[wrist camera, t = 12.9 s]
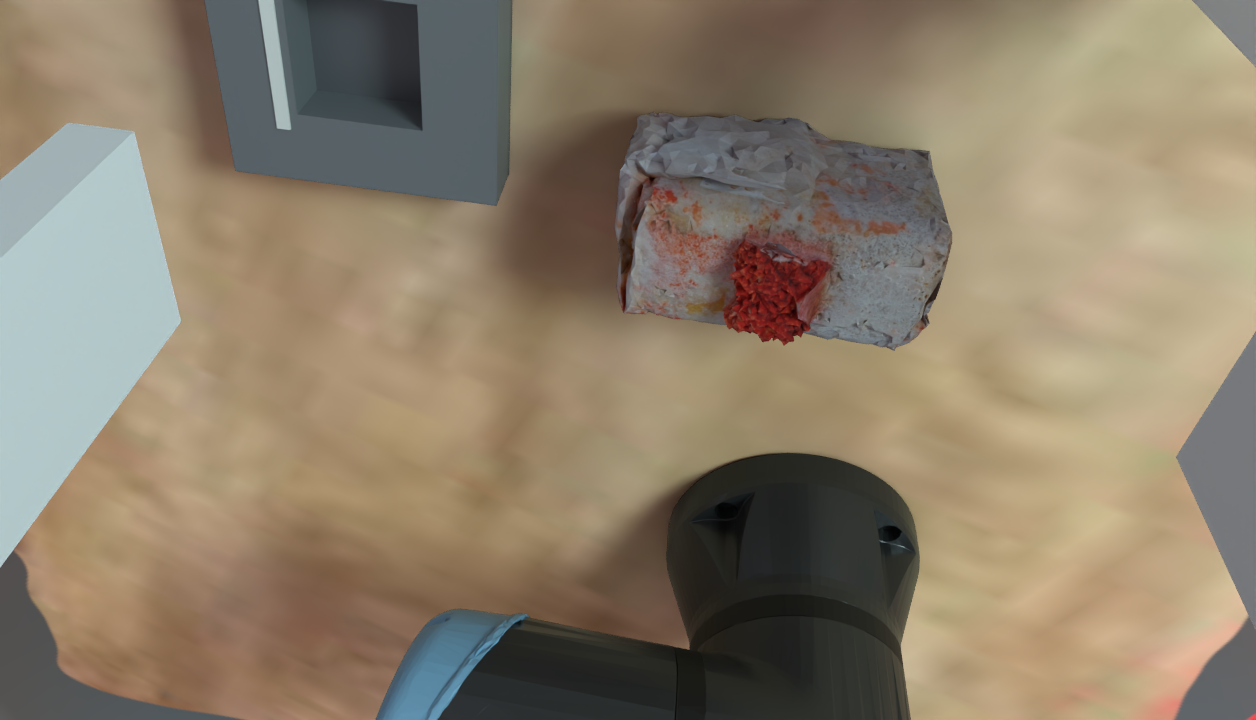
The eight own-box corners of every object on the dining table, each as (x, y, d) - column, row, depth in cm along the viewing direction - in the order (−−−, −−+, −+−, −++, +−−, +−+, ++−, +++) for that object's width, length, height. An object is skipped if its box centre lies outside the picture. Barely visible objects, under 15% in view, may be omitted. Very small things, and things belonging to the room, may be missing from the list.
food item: (623, 234, 49) (598, 361, 41) (635, 80, 44) (609, 194, 36) (900, 265, 49) (927, 399, 41) (945, 114, 43) (985, 235, 36)
